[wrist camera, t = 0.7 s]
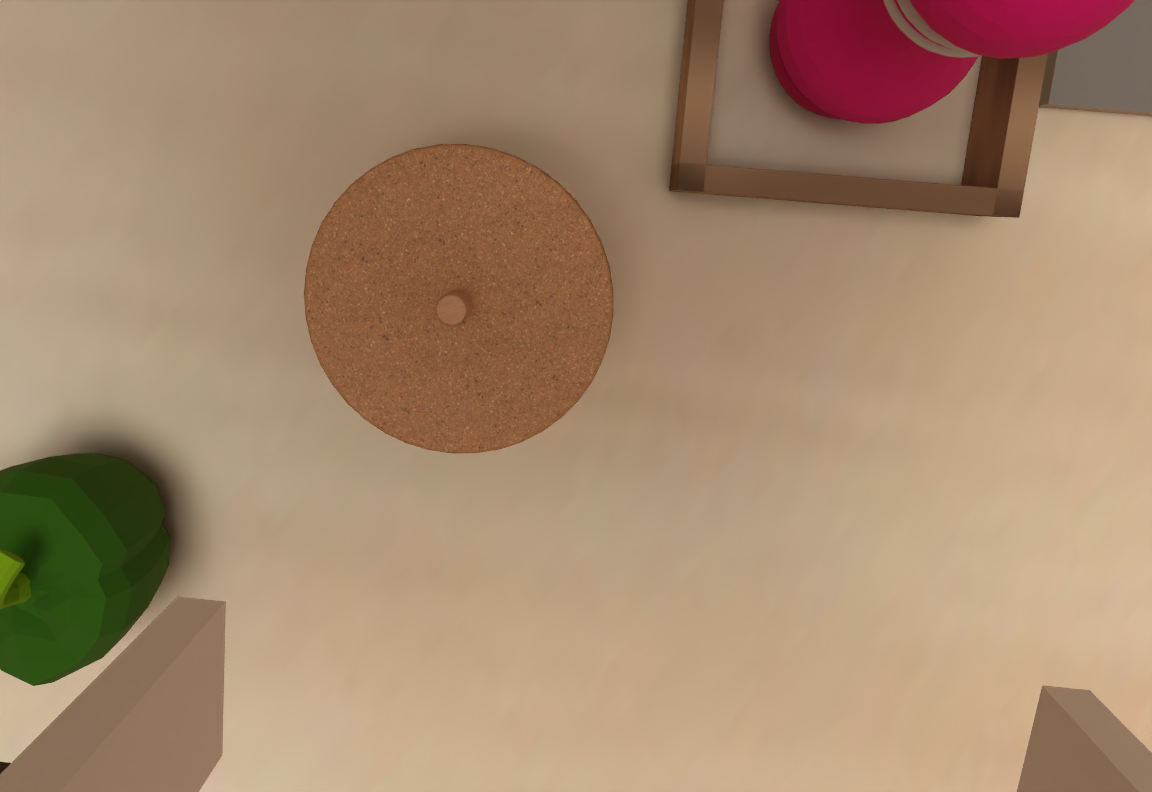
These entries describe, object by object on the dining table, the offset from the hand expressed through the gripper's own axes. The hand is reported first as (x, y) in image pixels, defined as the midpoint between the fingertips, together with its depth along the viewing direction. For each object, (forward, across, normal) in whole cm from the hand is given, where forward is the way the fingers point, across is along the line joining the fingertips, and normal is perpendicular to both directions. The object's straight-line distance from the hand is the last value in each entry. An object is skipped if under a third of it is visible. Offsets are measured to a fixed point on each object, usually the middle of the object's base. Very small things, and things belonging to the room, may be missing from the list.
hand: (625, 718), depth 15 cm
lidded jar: (+26, -6, +4) cm, 27 cm away
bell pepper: (+26, -21, -9) cm, 35 cm away
